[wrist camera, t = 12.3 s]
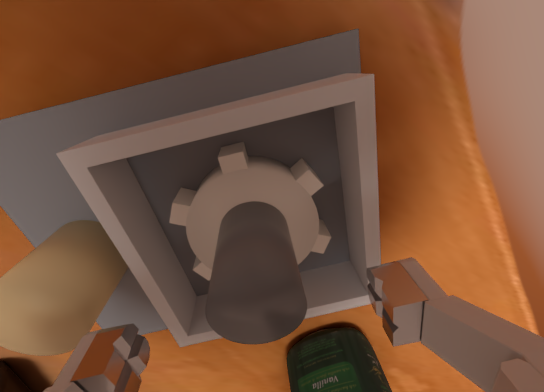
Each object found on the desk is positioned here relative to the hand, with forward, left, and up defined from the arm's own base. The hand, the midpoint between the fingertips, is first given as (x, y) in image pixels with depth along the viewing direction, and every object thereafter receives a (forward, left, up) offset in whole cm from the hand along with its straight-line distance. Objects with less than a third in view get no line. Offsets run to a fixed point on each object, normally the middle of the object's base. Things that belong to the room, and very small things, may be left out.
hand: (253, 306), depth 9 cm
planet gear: (0, 0, -7) cm, 7 cm away
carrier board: (0, -3, -8) cm, 9 cm away
